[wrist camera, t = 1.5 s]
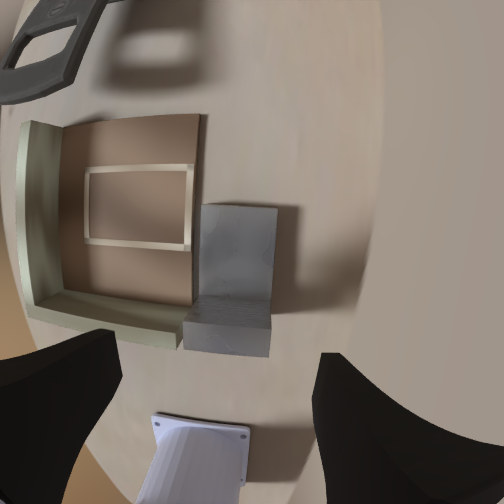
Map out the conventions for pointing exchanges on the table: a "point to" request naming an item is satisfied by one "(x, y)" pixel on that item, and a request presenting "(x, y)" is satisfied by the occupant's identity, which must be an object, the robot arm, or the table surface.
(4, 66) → the zipper pull
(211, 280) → the angle bracket
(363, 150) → the table surface
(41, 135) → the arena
